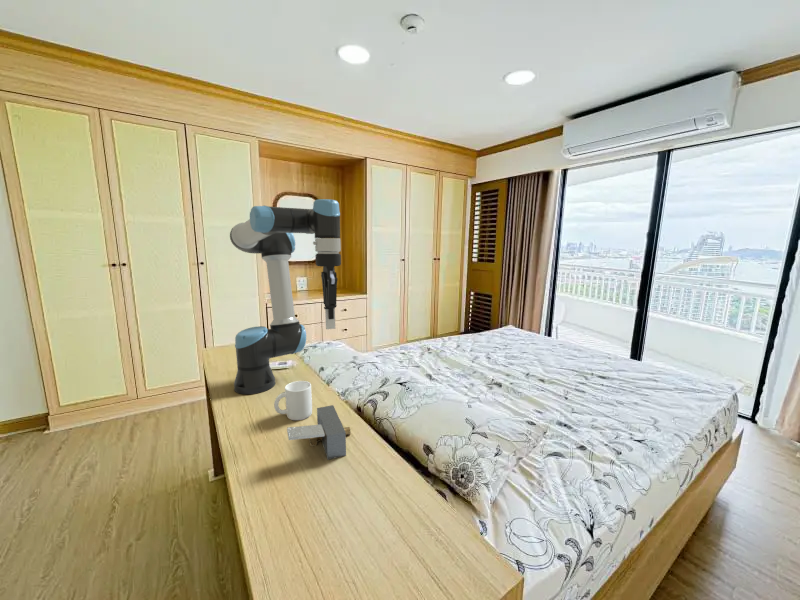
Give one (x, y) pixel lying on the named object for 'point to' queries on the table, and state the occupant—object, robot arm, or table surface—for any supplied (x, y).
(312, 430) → the tab
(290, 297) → the robot arm
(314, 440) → the lynch pin
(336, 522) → the table surface
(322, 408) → the block
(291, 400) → the mug
